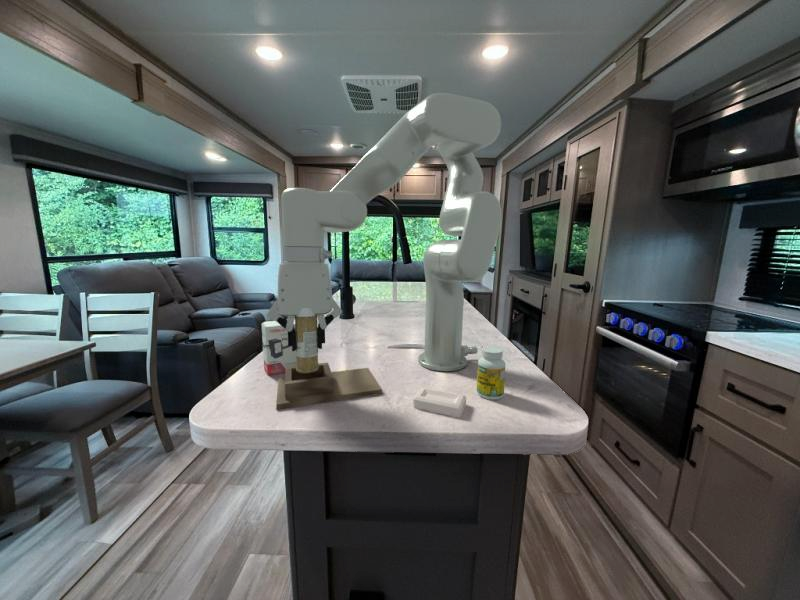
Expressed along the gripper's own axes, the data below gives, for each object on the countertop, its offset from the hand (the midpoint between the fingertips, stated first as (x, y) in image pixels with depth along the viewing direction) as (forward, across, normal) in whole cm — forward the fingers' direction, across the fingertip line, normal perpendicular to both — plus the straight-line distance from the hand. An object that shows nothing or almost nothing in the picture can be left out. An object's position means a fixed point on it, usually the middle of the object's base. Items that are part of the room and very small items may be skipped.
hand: (306, 347), depth 61 cm
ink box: (+10, +5, -14) cm, 18 cm away
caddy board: (+9, -4, 0) cm, 10 cm away
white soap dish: (+10, -23, +14) cm, 29 cm away
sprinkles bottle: (+5, 0, 0) cm, 5 cm away
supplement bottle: (+9, -35, +13) cm, 39 cm away
